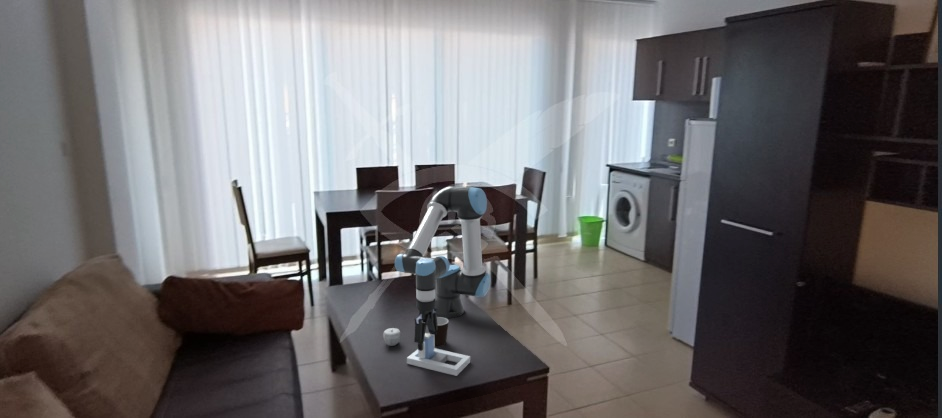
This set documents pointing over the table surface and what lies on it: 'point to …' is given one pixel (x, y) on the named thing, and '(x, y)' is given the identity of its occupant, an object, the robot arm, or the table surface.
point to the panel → (440, 361)
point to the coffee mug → (441, 331)
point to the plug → (428, 346)
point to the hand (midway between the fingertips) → (426, 353)
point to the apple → (392, 336)
